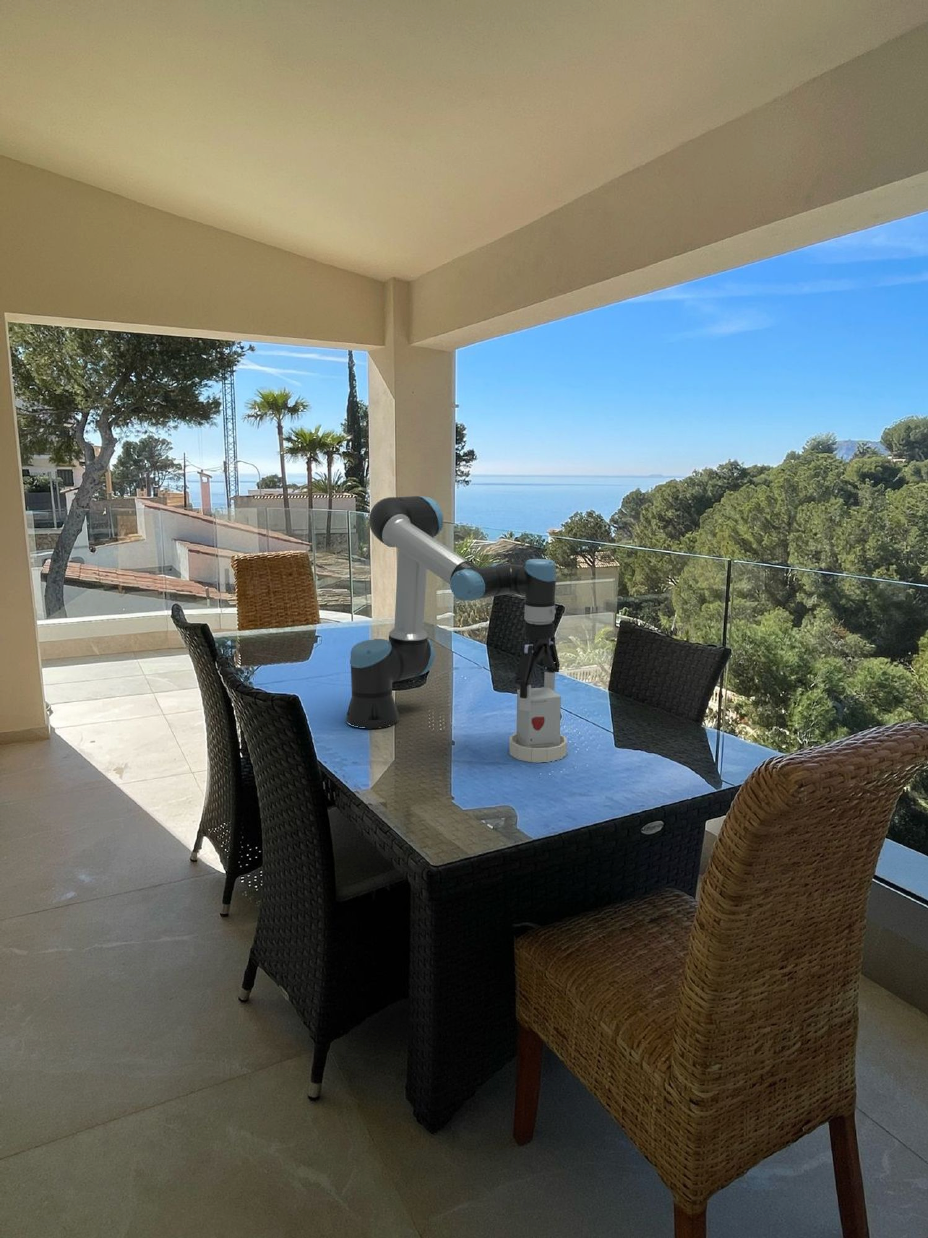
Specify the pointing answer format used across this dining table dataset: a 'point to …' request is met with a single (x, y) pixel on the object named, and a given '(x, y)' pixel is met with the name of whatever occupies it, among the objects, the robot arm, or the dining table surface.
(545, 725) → the supplement box
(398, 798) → the dining table surface
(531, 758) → the bowl
